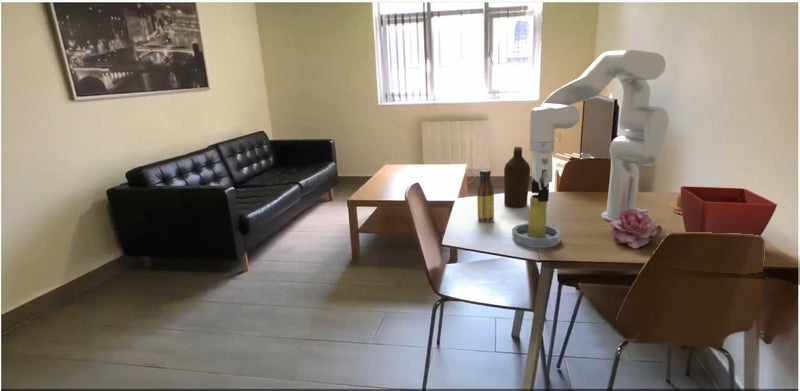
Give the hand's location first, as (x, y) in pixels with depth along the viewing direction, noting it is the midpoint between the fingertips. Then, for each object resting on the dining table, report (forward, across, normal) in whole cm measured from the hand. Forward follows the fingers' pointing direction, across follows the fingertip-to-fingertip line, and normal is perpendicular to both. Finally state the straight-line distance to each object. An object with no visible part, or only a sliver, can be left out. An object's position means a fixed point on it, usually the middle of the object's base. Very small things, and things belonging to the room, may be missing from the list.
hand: (539, 196), depth 145 cm
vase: (+14, 0, +1) cm, 14 cm away
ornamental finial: (+17, +28, -62) cm, 70 cm away
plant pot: (+16, -4, -55) cm, 58 cm away
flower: (+16, -2, -30) cm, 34 cm away
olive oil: (+16, +40, +1) cm, 43 cm away
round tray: (+15, 0, +1) cm, 15 cm away
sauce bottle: (+15, +20, +16) cm, 29 cm away
